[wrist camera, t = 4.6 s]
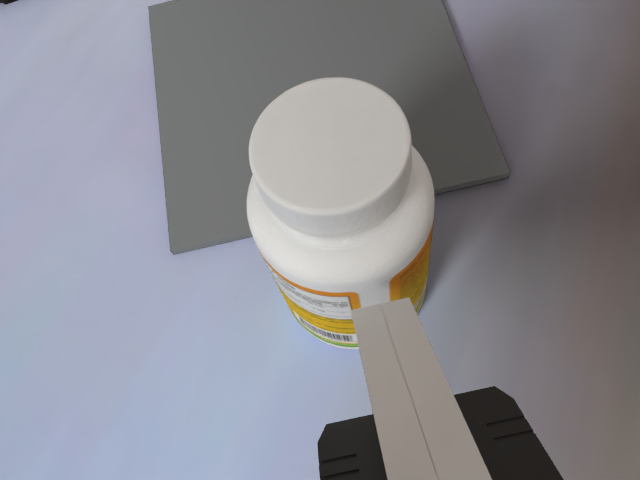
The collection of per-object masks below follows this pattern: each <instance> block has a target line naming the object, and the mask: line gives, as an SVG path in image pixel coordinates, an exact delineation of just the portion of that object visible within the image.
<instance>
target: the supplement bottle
mask: <svg viewBox="0 0 640 480" xmlns="http://www.w3.org/2000/svg"><path fill="white" fill-rule="evenodd" d="M249 162H250V167H251V170H252V173H253V175H252V178H251V181H250V184H249V188H248V193H247V218H248V223H249V227H250V230H251V233H252V236H253V238H254V240H255V243H256V246H257V247H258V249H259V251H260V253H261V255H262V257H263V258H264V260H265V262H266V264H267V266H268V268H269V270H270V272H271V274H272V276H273V278H274V279H275V281H276V283H277V285H278V287H279V289H280V291H281V293H282V294H283V296H284V298H285V300H286V302H287V304H288V306H289V308H290V310H291V312H292V313H293V315H294V316H295V318H296V319H297V321H298V322H299V323H300V324H301V325H302V326H303V328H304V329H305V330H307V331H308V332H309V333H310V334H311V335H313V336H314V337H315V338H317V339H318V340H320V341H322V342H324V343H326V344H329V345H332V346H335V347H339V348H344V349H359V346H358V342H357V337H356V332H355V328H354V323H353V319H352V314H351V310H354V309H358V308H363V307H368V306H372V305H377V304H381V303H386V302H390V301H395V300H399V299H404V298H408V297H409V298H410V300H411V302H412V304H413V307H414V309H415V311H416V313H418V312H419V310H420V308H421V306H422V303H423V300H424V296H425V292H426V286H427V278H428V267H429V257H430V248H431V239H432V231H433V222H434V209H435V196H434V188H433V183H432V178H431V175H430V172H429V170H428V168H427V165H426V163H425V162H424V160H423V158H422V157H421V155H420V154H419V153H418V151H417V150H416V149H415V148H414V147H413V146H412V140H411V131H410V127H409V124H408V121H407V118H406V116H405V114H404V113H403V111H402V109H401V108H400V106H399V105H398V104H397V102H396V101H395V100H394V99H393V98H392V97H391V96H389V95H388V94H387V93H386V92H384V91H383V90H381V89H379V88H378V87H376V86H374V85H372V84H370V83H367V82H364V81H361V80H357V79H352V78H344V77H329V78H320V79H315V80H311V81H307V82H304V83H302V84H299V85H297V86H295V87H292V88H291V89H289V90H287V91H285V92H284V93H282V94H281V95H280V96H278V97H277V98H276V99H274V100H273V101H272V102H271V103H270V104H269V105H268V106H267V107H266V108H265V110H264V111H263V112H262V114H261V115H260V116H259V118H258V120H257V122H256V124H255V125H254V128H253V130H252V133H251V137H250V141H249Z"/></svg>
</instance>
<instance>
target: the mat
mask: <svg viewBox="0 0 640 480" xmlns="http://www.w3.org/2000/svg"><path fill="white" fill-rule="evenodd" d="M148 9H149V20H150V31H151V42H152V53H153V64H154V75H155V86H156V97H157V109H158V120H159V131H160V142H161V153H162V164H163V175H164V186H165V197H166V208H167V219H168V230H169V241H170V251H171V252H172V253H173V254H174V255H175V254H179V253H183V252H188V251H192V250H196V249H201V248H205V247H209V246H214V245H218V244H222V243H227V242H231V241H235V240H240V239H244V238H248V237H253V236H252V233H251V230H250V227H249V223H248V218H247V193H248V188H249V184H250V181H251V178H252V175H253V173H252V170H251V167H250V162H249V141H250V137H251V133H252V130H253V128H254V125H255V124H256V122H257V120H258V118H259V116H260V115H261V114H262V112H263V111H264V110H265V108H266V107H267V106H268V105H269V104H270V103H271V102H272V101H273V100H274V99H276V98H277V97H278V96H280V95H281V94H282V93H284V92H285V91H287V90H289V89H291V88H292V87H295V86H297V85H299V84H302V83H304V82H307V81H311V80H315V79H320V78H329V77H344V78H352V79H357V80H361V81H364V82H367V83H370V84H372V85H374V86H376V87H378V88H379V89H381V90H383V91H384V92H386V93H387V94H388V95H389V96H391V97H392V98H393V99H394V100H395V101H396V102H397V104H398V105H399V106H400V108H401V109H402V111H403V113H404V114H405V116H406V118H407V121H408V124H409V127H410V131H411V140H412V146H413V147H414V148H415V149H416V150H417V151H418V153H419V154H420V155H421V157H422V158H423V160H424V162H425V163H426V165H427V168H428V170H429V172H430V175H431V178H432V183H433V188H434V195H435V194H439V193H443V192H448V191H452V190H456V189H461V188H465V187H469V186H474V185H478V184H482V183H487V182H491V181H495V180H500V179H504V178H508V177H509V174H510V171H509V169H508V166H507V164H506V161H505V159H504V156H503V154H502V151H501V149H500V146H499V144H498V141H497V139H496V136H495V134H494V131H493V128H492V126H491V123H490V121H489V118H488V116H487V113H486V111H485V108H484V106H483V103H482V101H481V98H480V96H479V93H478V91H477V88H476V86H475V83H474V81H473V78H472V76H471V73H470V71H469V68H468V66H467V63H466V61H465V58H464V56H463V53H462V51H461V48H460V46H459V43H458V41H457V38H456V36H455V33H454V31H453V28H452V26H451V23H450V20H449V18H448V15H447V13H446V10H445V8H444V5H443V3H442V0H173V1H169V2H165V3H161V4H157V5H153V6H149V7H148Z"/></svg>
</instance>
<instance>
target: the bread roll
mask: <svg viewBox="0 0 640 480" xmlns="http://www.w3.org/2000/svg"><path fill="white" fill-rule="evenodd" d="M14 1H17V0H0V3H4V4H8V3H12V2H14Z"/></svg>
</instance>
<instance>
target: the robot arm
mask: <svg viewBox="0 0 640 480" xmlns="http://www.w3.org/2000/svg"><path fill="white" fill-rule="evenodd" d="M351 314H352V319H353V323H354V328H355V332H356V337H357V342H358V346H359V351H360V355H361V360H362V365H363V369H364V374H365V378H366V383H367V387H368V392H369V397H370V401H371V406H372V410H373V414H372V415H367V416H363V417H358V418H353V419H349V420H344V421H340V422H335V423H330V424H326V426H325V428H324V430H323V432H322V435H321V437H320V439H319V441H318V456H319V471H320V480H563V478H562V477H561V475H560V473H559V472H558V470H557V469H556V467H555V465H554V464H553V462H552V460H551V459H550V457H549V456H548V454H547V452H546V451H545V449H544V447H543V446H542V444H541V442H540V441H539V439H538V438H537V436H536V434H535V433H533V429H532V428H531V426H530V425H529V423H528V421H527V420H526V419H525V418H524V415H523V413H522V412H521V410H520V408H519V407H518V405H517V403H516V402H515V400H514V399H513V398H512V397H510V396H509V395H507V394H506V393H504V392H503V391H501V390H500V389H498V388H496V387H495V386H493V387H489V388H484V389H480V390H475V391H470V392H466V393H461V394H456V395H453V392H452V390H451V388H450V386H449V384H448V381H447V379H446V377H445V375H444V373H443V370H442V368H441V366H440V364H439V362H438V359H437V357H436V355H435V353H434V351H433V348H432V346H431V344H430V342H429V340H428V337H427V335H426V333H425V331H424V329H423V326H422V324H421V322H420V320H419V318H418V315H417V313H416V311H415V309H414V307H413V304H412V302H411V300H410V298H409V297H408V298H404V299H399V300H395V301H390V302H386V303H381V304H377V305H372V306H368V307H363V308H358V309H354V310H351Z"/></svg>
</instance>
